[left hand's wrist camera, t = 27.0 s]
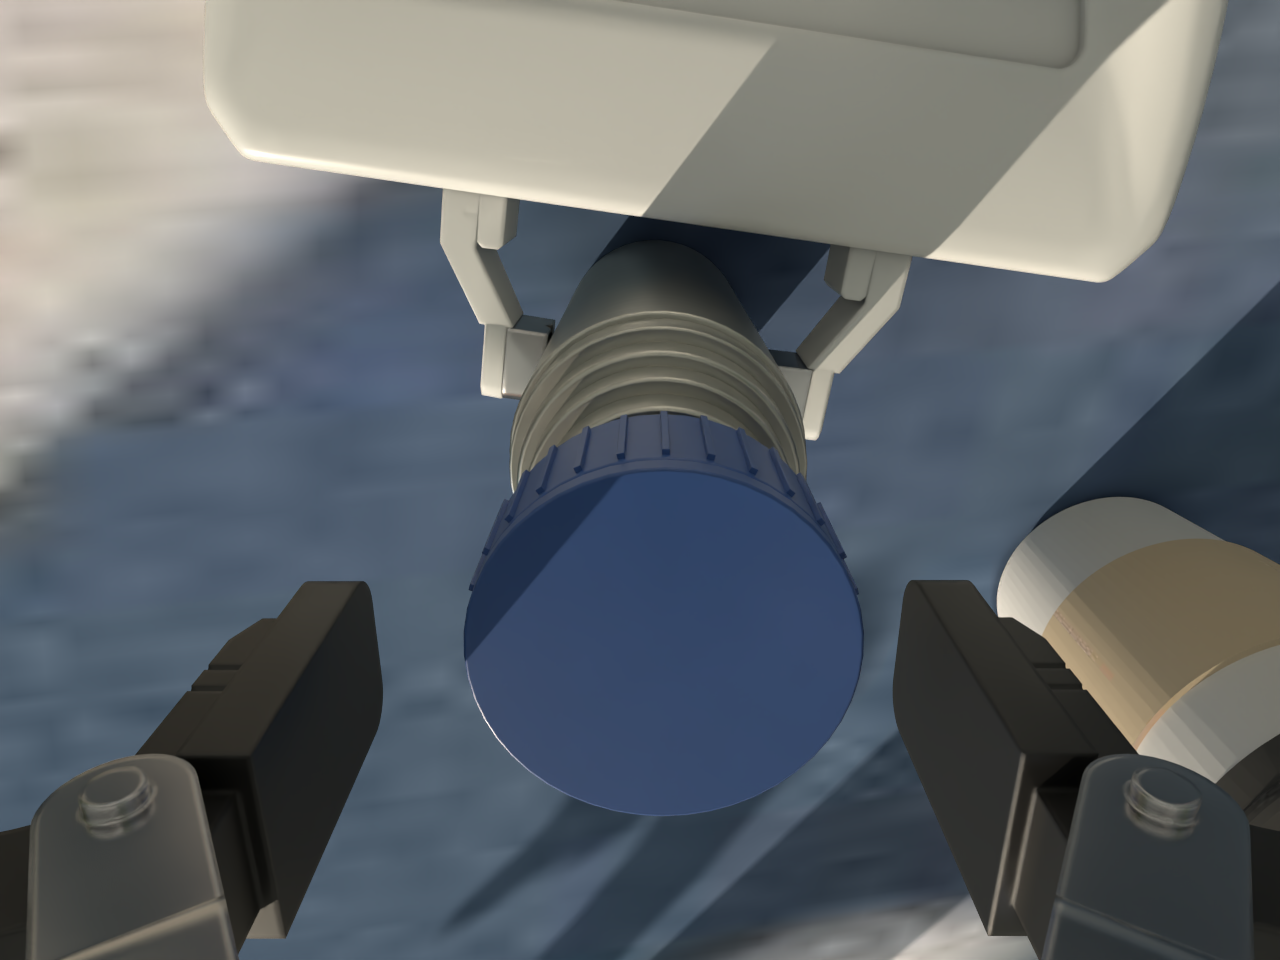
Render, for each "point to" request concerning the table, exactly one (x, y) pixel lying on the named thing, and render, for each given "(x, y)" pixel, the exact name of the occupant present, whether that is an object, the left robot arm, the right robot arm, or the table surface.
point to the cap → (663, 618)
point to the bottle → (655, 358)
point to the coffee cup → (1163, 636)
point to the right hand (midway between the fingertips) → (651, 412)
